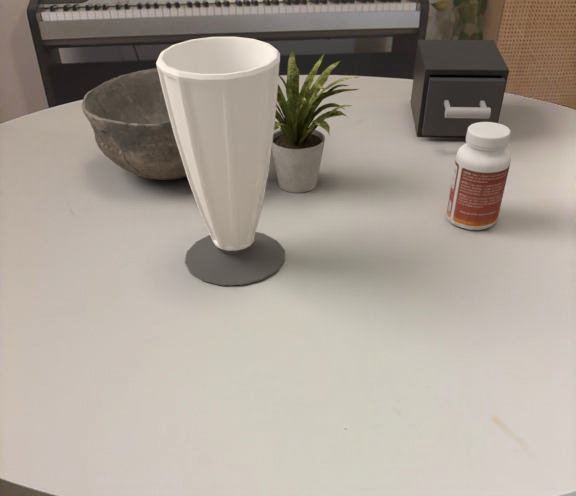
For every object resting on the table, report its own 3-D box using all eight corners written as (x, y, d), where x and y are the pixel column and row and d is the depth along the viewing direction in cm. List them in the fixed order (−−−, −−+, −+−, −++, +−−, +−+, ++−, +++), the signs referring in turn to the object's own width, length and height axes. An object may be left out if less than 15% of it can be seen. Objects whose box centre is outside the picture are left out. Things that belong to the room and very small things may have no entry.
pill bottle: (507, 224, 78) (530, 134, 70) (466, 236, 76) (485, 145, 68) (475, 202, 82) (493, 114, 74) (435, 213, 80) (450, 124, 72)
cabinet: (494, 137, 96) (509, 70, 89) (416, 136, 97) (425, 69, 90) (481, 103, 106) (493, 40, 99) (410, 102, 106) (417, 39, 100)
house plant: (313, 225, 78) (316, 86, 67) (222, 197, 84) (210, 64, 72) (367, 179, 87) (377, 49, 75) (281, 156, 92) (279, 31, 81)
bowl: (128, 131, 99) (115, 62, 92) (258, 139, 96) (255, 69, 90) (73, 195, 85) (52, 118, 78) (224, 206, 82) (217, 128, 75)
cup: (304, 249, 74) (305, 47, 59) (245, 299, 68) (230, 85, 53) (226, 222, 79) (208, 29, 64) (163, 266, 72) (128, 61, 57)
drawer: (499, 149, 91) (511, 93, 85) (425, 148, 91) (433, 92, 86) (481, 104, 103) (491, 52, 98) (416, 103, 104) (422, 51, 98)
